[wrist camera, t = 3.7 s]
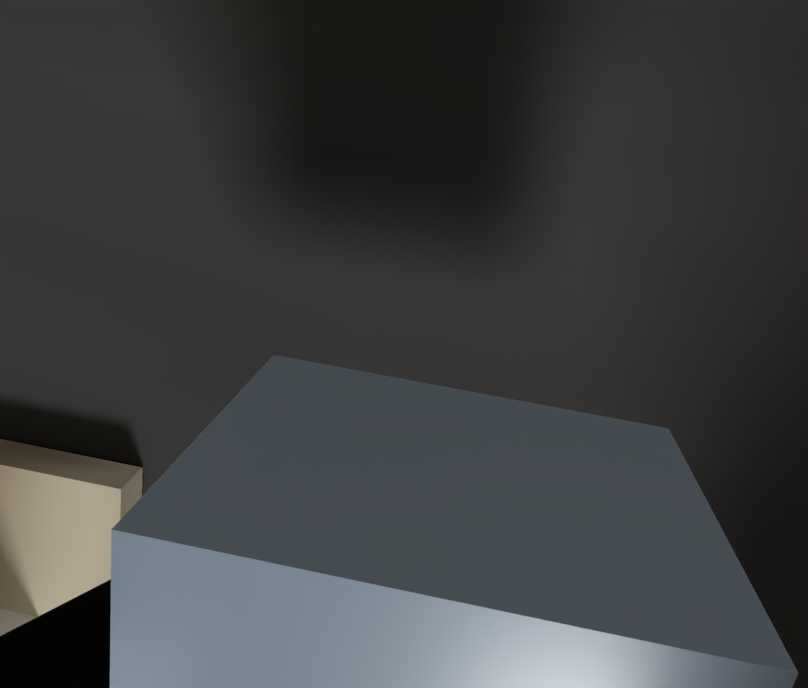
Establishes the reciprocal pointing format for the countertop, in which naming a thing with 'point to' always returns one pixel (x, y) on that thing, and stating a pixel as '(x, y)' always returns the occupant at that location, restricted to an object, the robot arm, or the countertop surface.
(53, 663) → the robot arm
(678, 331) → the countertop surface
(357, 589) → the middle brick
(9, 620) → the lower brick
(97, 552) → the base plate
